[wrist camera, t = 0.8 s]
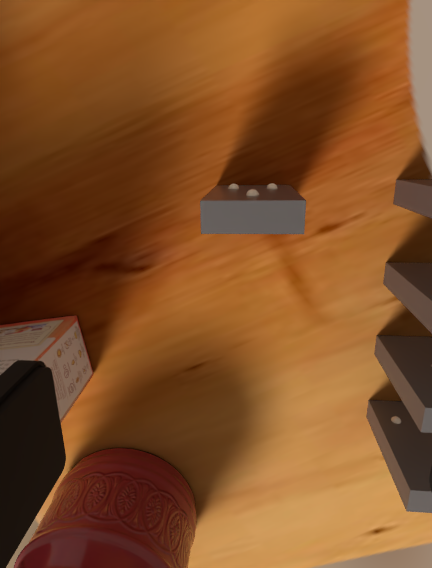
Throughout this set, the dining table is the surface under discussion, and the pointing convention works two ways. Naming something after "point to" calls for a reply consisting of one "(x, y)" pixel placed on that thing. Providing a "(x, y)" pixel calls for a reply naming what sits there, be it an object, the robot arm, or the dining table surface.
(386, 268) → the domino
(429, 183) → the domino
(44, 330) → the cracker box
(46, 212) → the dining table surface
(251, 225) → the domino
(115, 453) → the canister
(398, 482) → the domino
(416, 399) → the domino
